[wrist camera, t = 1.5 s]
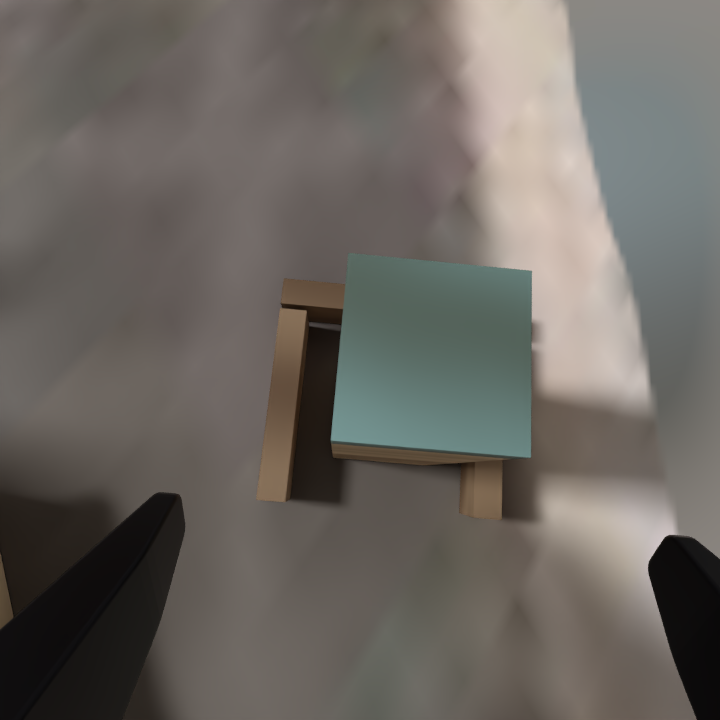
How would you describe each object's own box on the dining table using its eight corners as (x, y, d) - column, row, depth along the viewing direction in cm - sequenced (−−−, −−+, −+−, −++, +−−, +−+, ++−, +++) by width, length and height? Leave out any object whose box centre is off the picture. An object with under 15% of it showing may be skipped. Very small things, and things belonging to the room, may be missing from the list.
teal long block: (423, 465, 20) (530, 458, 9) (333, 457, 19) (330, 440, 9) (428, 376, 20) (531, 271, 10) (341, 368, 20) (348, 253, 10)
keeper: (484, 515, 19) (501, 519, 17) (264, 496, 19) (256, 499, 17) (489, 315, 21) (505, 299, 19) (288, 296, 21) (283, 278, 19)
